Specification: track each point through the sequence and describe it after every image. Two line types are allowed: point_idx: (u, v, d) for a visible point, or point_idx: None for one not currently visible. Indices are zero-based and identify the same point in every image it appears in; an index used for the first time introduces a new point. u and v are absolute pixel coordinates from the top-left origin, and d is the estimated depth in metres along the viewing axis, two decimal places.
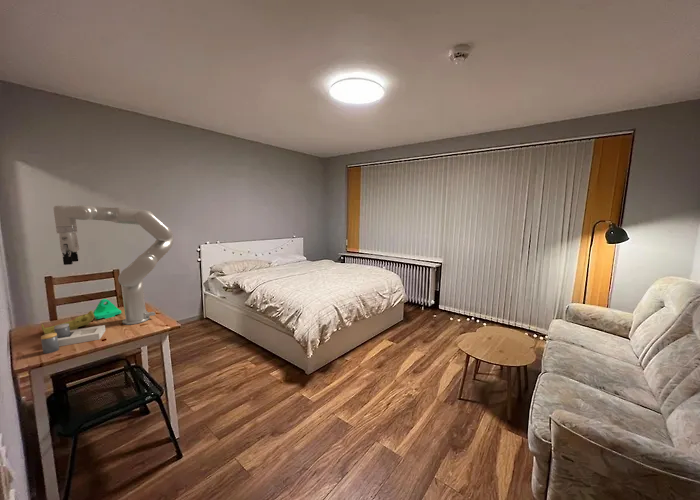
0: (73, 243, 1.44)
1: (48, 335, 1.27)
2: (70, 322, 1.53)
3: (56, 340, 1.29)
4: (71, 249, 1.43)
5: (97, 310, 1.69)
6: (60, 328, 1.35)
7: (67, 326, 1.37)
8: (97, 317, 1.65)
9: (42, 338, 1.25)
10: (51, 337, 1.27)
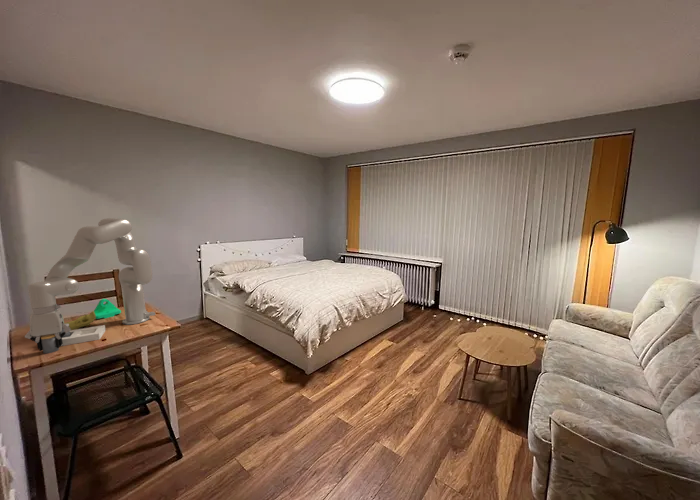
0: None
1: (48, 335, 1.27)
2: (72, 322, 1.53)
3: None
4: None
5: (97, 310, 1.70)
6: None
7: None
8: (97, 317, 1.65)
9: (42, 338, 1.25)
10: (51, 337, 1.27)
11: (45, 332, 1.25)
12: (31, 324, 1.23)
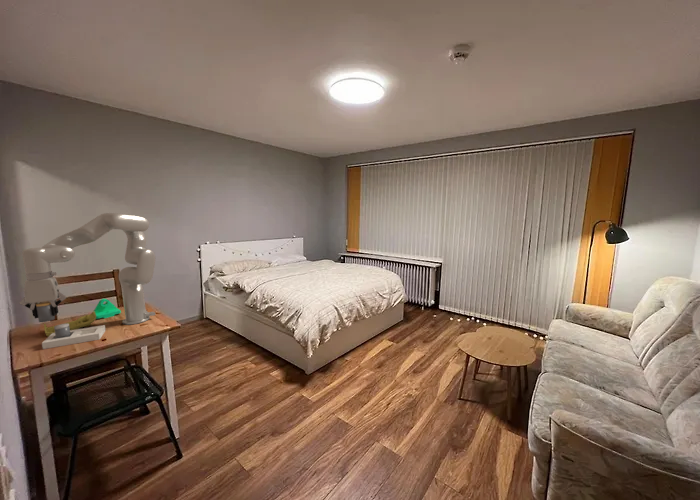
0: None
1: (43, 303, 1.25)
2: (72, 322, 1.53)
3: None
4: None
5: (96, 310, 1.70)
6: (60, 328, 1.35)
7: (67, 326, 1.37)
8: (97, 317, 1.65)
9: (37, 305, 1.23)
10: (46, 304, 1.25)
11: (40, 299, 1.23)
12: (26, 290, 1.21)
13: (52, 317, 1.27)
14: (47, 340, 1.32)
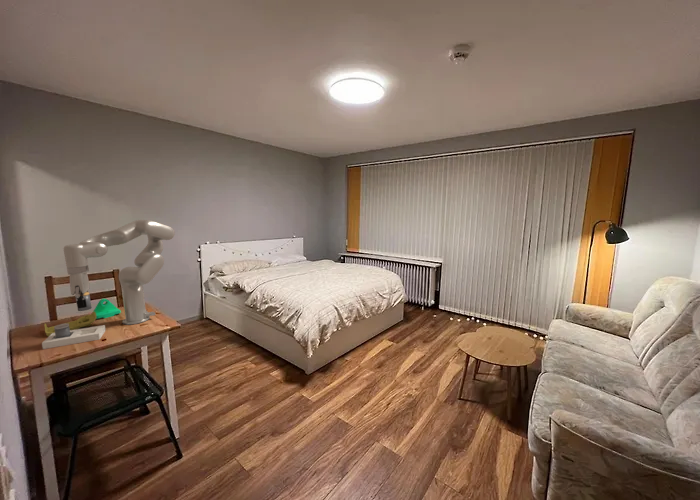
0: None
1: None
2: (73, 322, 1.53)
3: None
4: None
5: (96, 310, 1.70)
6: (60, 328, 1.35)
7: (67, 326, 1.37)
8: (96, 317, 1.66)
9: (86, 294, 1.39)
10: None
11: (86, 289, 1.39)
12: (83, 281, 1.36)
13: None
14: (47, 340, 1.32)
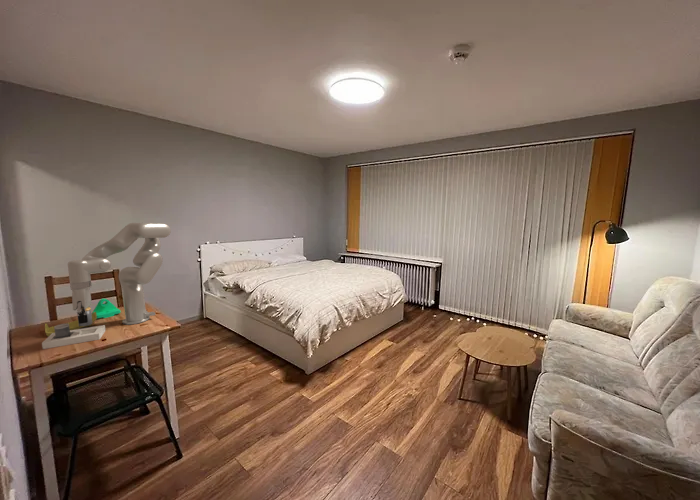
0: None
1: None
2: (73, 322, 1.53)
3: None
4: None
5: (96, 310, 1.70)
6: (60, 328, 1.35)
7: (67, 326, 1.37)
8: None
9: (88, 310, 1.40)
10: None
11: (88, 304, 1.40)
12: (85, 297, 1.37)
13: None
14: (47, 340, 1.32)
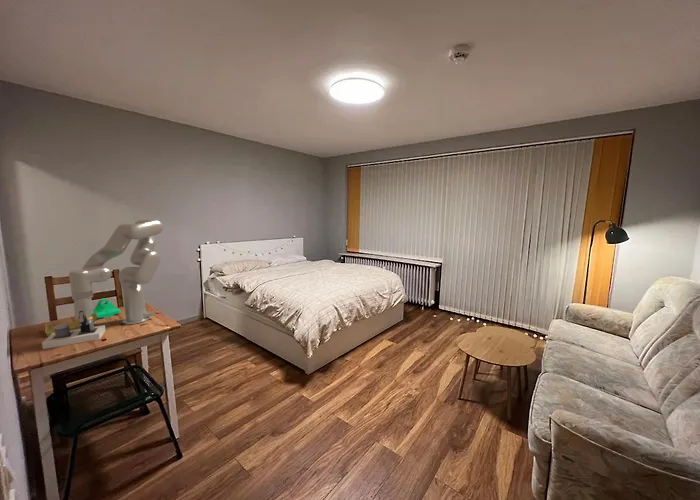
0: None
1: None
2: (74, 322, 1.53)
3: None
4: None
5: (96, 309, 1.70)
6: (60, 328, 1.35)
7: (67, 326, 1.37)
8: None
9: (90, 319, 1.41)
10: None
11: (90, 313, 1.41)
12: (87, 306, 1.38)
13: None
14: (47, 340, 1.32)
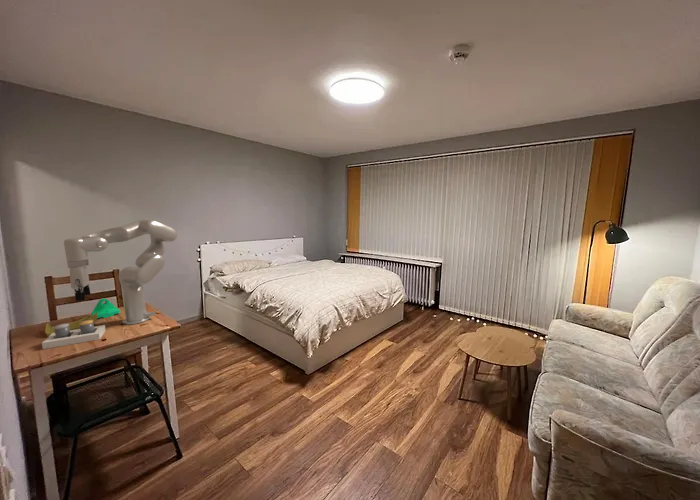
0: None
1: (87, 321, 1.42)
2: (74, 323, 1.52)
3: None
4: None
5: (96, 309, 1.70)
6: (60, 328, 1.35)
7: (67, 326, 1.37)
8: None
9: (90, 322, 1.41)
10: None
11: (86, 283, 1.40)
12: (83, 275, 1.36)
13: None
14: (47, 340, 1.32)
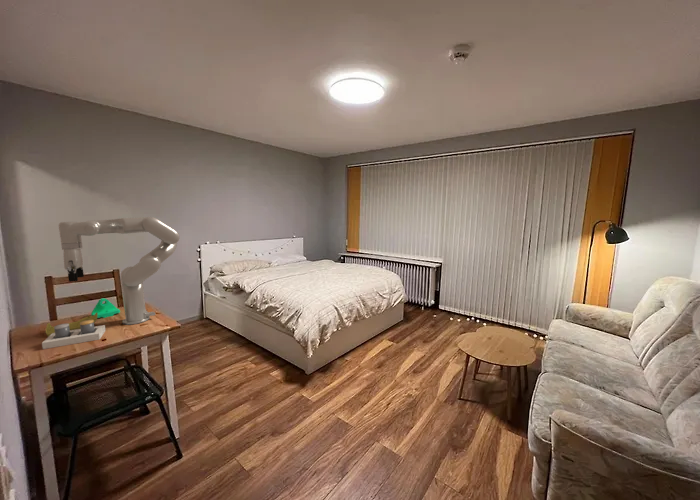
0: None
1: (88, 321, 1.42)
2: (75, 323, 1.52)
3: None
4: None
5: (96, 309, 1.70)
6: (60, 328, 1.35)
7: (67, 326, 1.37)
8: None
9: (90, 322, 1.41)
10: None
11: (79, 265, 1.46)
12: (76, 257, 1.42)
13: None
14: (47, 340, 1.32)
